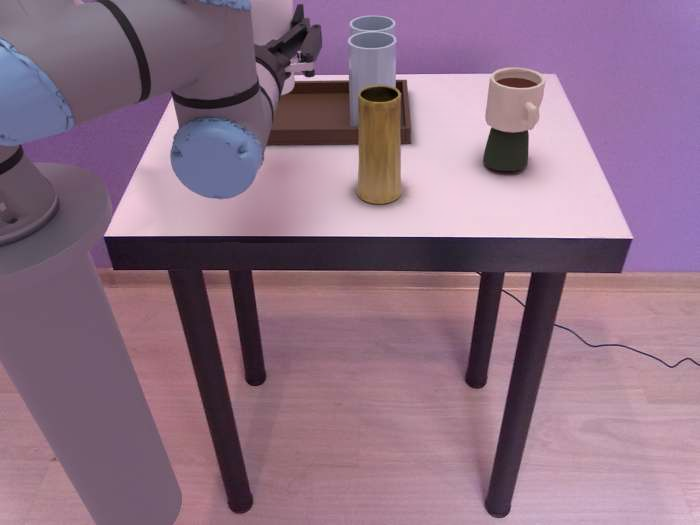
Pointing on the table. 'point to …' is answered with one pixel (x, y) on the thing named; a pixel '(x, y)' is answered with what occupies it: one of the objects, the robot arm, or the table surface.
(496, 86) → the character mug
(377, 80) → the tumbler
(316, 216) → the table surface
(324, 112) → the tray
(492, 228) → the table surface
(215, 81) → the robot arm
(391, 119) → the vase
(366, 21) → the tumbler
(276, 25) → the drinking glass
